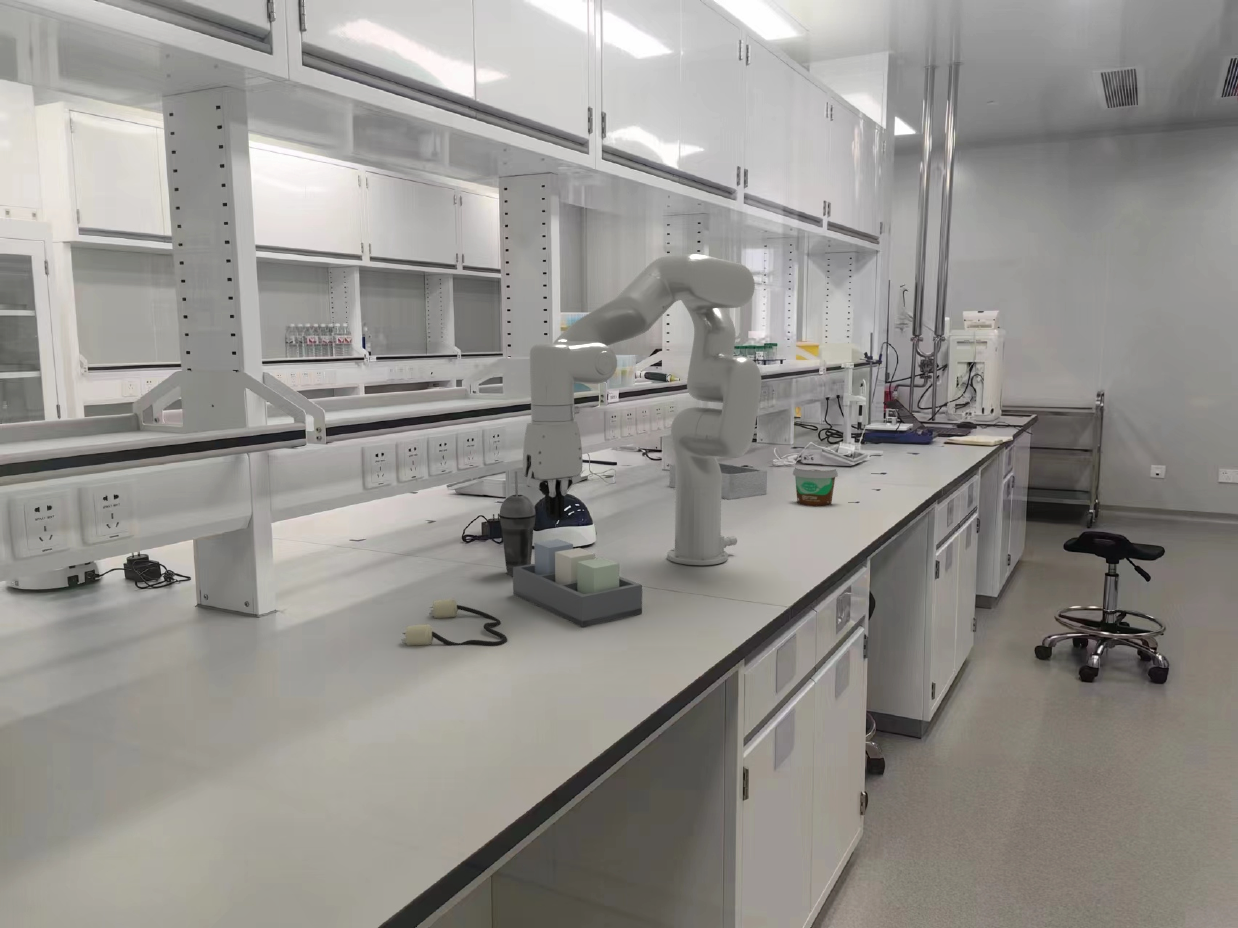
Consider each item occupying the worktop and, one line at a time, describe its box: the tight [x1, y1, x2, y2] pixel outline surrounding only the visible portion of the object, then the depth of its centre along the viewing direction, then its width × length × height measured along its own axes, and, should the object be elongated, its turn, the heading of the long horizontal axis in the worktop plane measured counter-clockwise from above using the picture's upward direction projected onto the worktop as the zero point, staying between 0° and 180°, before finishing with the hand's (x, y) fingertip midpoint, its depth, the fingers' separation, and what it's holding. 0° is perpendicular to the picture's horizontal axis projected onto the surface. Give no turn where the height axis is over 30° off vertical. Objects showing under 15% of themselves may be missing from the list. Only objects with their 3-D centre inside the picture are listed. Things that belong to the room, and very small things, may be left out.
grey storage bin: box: [669, 462, 768, 500], centre depth 267 cm, size 15×27×7 cm, turn 36°
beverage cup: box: [498, 471, 537, 577], centre depth 171 cm, size 7×7×20 cm
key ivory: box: [555, 547, 596, 584], centre depth 152 cm, size 5×5×6 cm
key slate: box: [533, 538, 574, 575], centre depth 158 cm, size 5×5×6 cm
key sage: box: [577, 557, 620, 594], centre depth 146 cm, size 5×5×6 cm
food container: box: [792, 467, 839, 507], centre depth 244 cm, size 12×6×10 cm, turn 73°
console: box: [512, 563, 643, 628], centre depth 153 cm, size 12×22×5 cm, turn 36°
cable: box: [401, 598, 508, 647], centre depth 139 cm, size 16×16×4 cm
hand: (555, 517), depth 157 cm, fingers closed
